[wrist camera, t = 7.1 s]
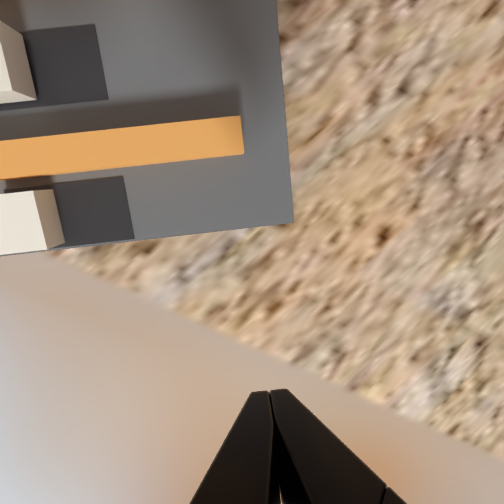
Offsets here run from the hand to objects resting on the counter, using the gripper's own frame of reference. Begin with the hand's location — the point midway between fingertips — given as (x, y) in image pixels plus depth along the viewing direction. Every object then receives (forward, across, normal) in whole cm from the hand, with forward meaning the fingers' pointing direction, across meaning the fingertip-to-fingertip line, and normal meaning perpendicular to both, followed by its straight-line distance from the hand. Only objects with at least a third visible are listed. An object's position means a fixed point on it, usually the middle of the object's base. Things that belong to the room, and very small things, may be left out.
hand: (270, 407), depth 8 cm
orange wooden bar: (+9, +8, -7) cm, 14 cm away
